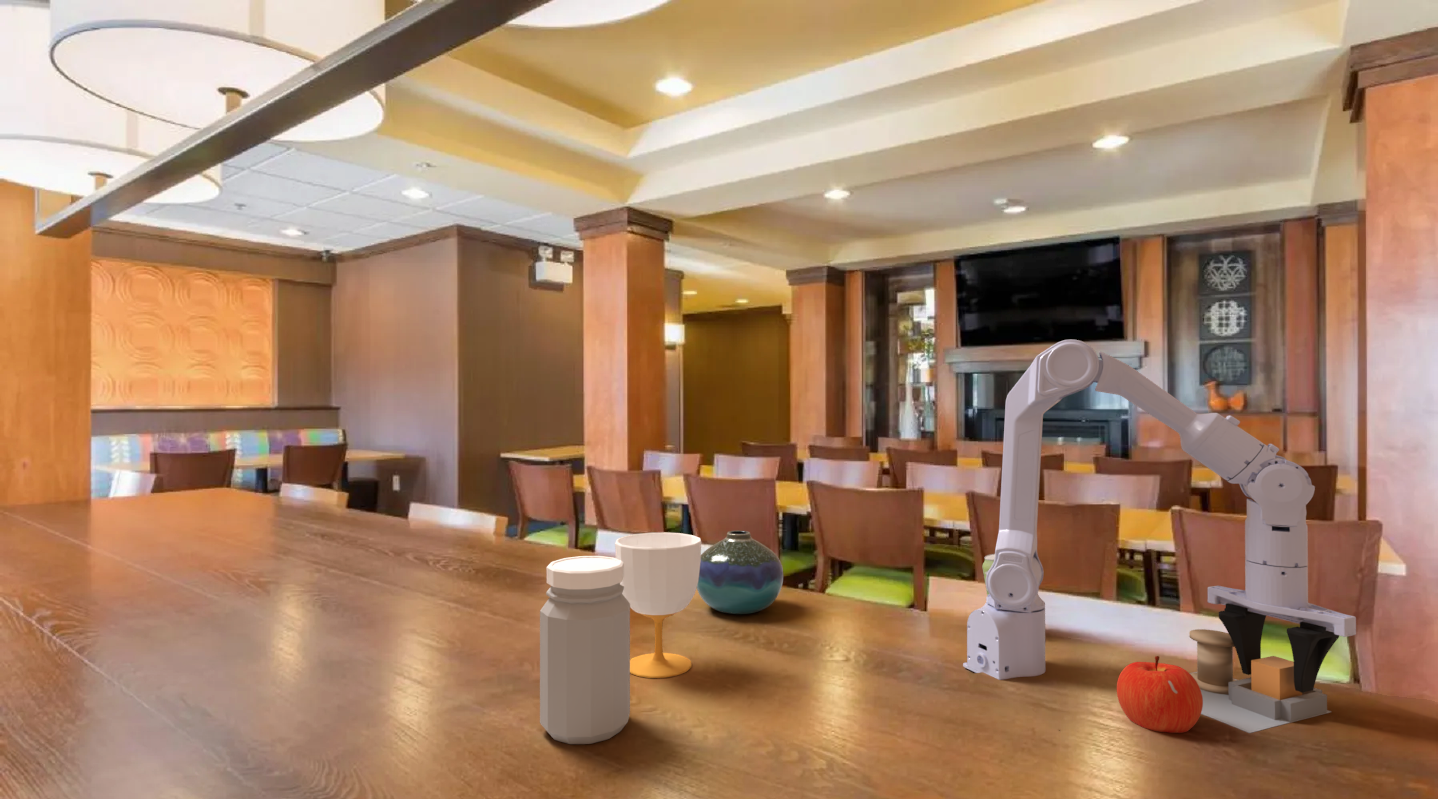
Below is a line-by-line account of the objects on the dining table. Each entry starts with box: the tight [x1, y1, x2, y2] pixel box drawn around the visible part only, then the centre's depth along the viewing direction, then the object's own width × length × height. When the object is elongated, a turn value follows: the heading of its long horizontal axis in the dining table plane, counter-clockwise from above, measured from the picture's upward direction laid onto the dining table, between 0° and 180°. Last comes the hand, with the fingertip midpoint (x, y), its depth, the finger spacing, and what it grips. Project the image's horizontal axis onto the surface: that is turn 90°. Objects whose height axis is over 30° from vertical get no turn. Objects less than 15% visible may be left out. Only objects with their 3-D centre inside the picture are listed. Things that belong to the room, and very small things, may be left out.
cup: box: [614, 532, 702, 679], centre depth 99 cm, size 12×12×17 cm
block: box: [1250, 655, 1302, 700], centre depth 83 cm, size 4×3×5 cm
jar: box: [539, 555, 631, 745], centre depth 80 cm, size 10×10×18 cm
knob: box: [1188, 628, 1238, 695], centre depth 90 cm, size 6×6×6 cm
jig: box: [1189, 671, 1332, 734], centre depth 86 cm, size 14×14×3 cm
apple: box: [1116, 655, 1203, 734], centre depth 80 cm, size 8×8×8 cm
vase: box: [696, 530, 784, 615], centre depth 126 cm, size 15×15×13 cm
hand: (1276, 681), depth 84 cm, fingers open, 5 cm apart
